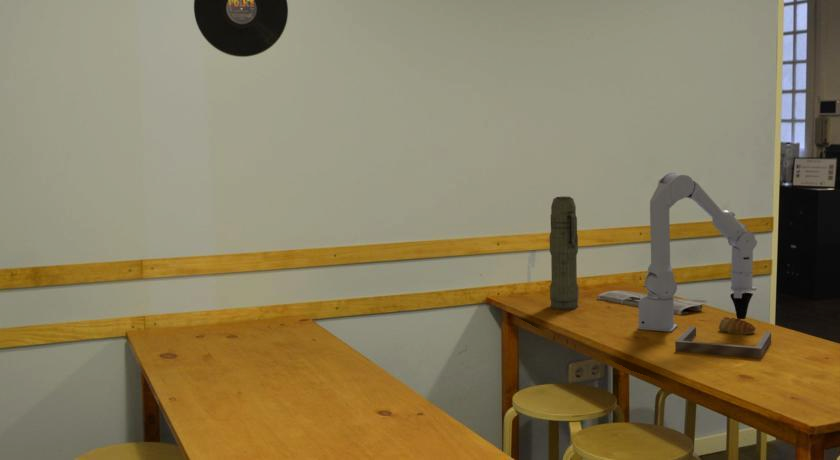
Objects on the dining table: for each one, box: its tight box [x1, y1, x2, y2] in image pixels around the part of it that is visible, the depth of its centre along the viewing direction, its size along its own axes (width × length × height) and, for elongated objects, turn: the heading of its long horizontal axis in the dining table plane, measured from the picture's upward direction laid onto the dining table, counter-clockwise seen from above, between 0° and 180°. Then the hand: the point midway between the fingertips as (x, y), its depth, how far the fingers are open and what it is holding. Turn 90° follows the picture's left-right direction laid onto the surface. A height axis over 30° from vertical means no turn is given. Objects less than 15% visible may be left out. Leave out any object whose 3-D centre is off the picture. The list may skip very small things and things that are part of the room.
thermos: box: [549, 196, 580, 311], centre depth 306 cm, size 9×12×35 cm
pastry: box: [718, 316, 756, 335], centre depth 269 cm, size 9×7×4 cm
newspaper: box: [596, 289, 708, 316], centre depth 308 cm, size 35×12×4 cm, turn 37°
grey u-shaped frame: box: [674, 325, 772, 359], centre depth 253 cm, size 21×18×2 cm
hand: (741, 318), depth 277 cm, fingers closed
